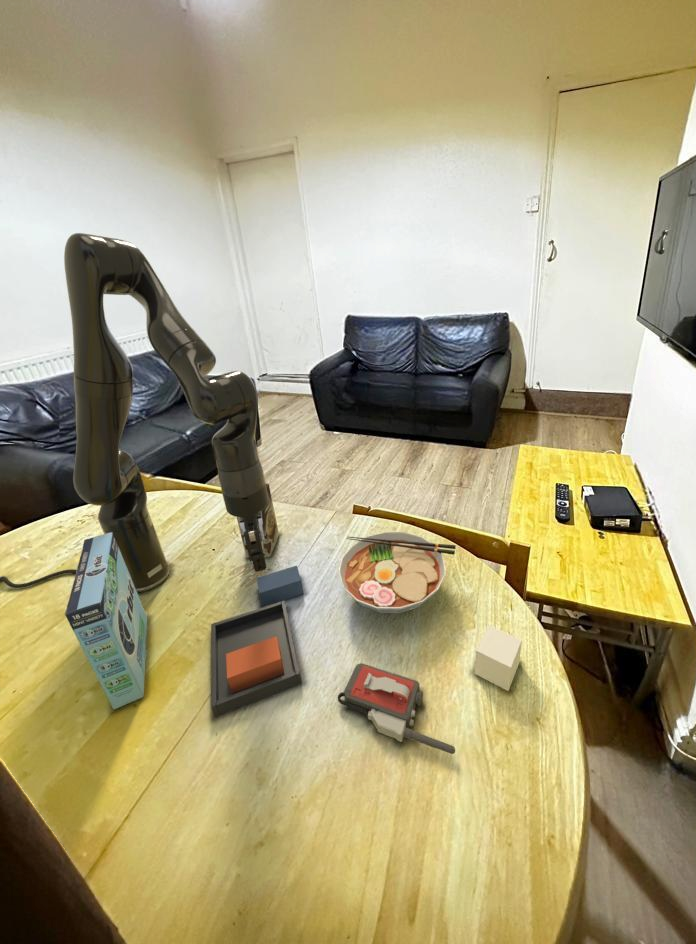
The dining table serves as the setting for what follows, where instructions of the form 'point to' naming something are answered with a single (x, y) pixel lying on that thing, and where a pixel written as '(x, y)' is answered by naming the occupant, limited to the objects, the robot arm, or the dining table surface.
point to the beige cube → (498, 657)
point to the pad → (254, 664)
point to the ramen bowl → (393, 571)
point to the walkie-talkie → (388, 703)
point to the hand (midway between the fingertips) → (259, 554)
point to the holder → (244, 634)
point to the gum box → (109, 620)
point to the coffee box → (266, 527)
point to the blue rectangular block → (279, 586)
